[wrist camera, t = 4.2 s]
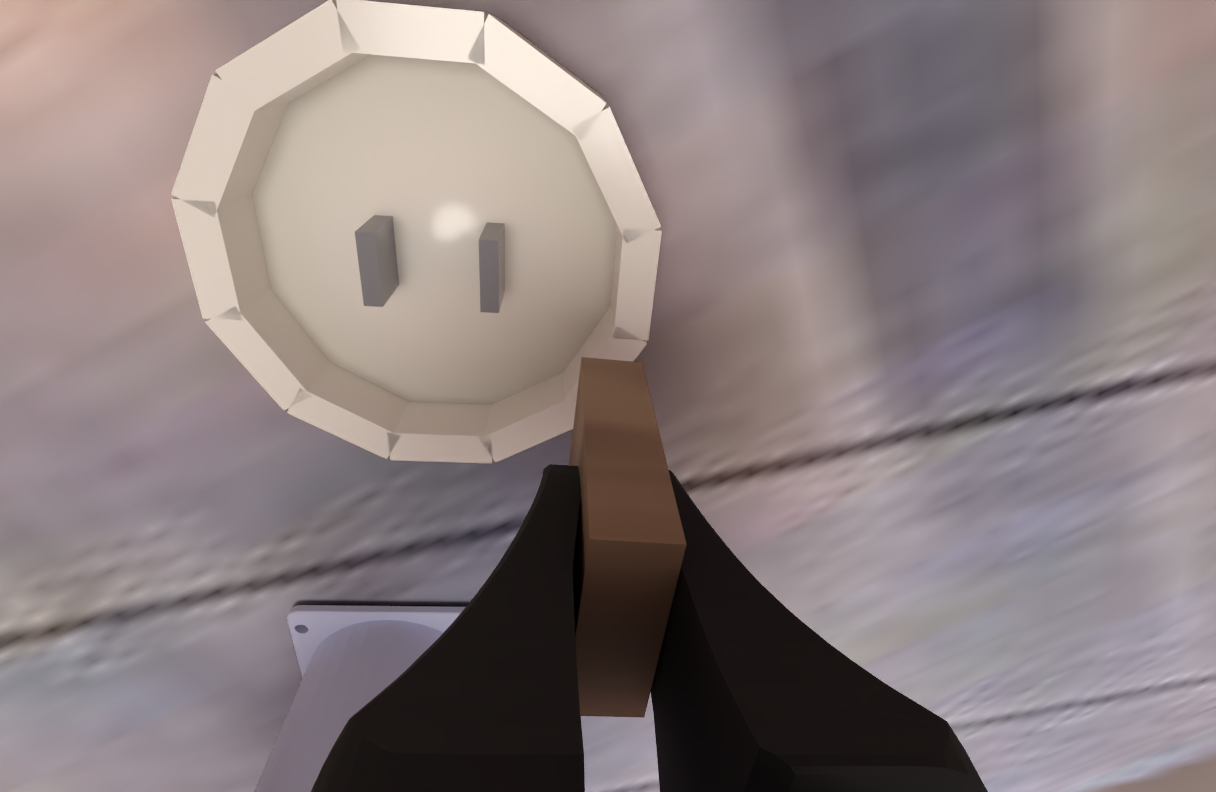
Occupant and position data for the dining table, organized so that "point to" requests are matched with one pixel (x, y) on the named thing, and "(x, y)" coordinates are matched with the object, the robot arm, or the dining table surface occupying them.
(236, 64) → the white shallow dish
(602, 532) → the brown wooden block
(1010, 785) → the dining table surface
